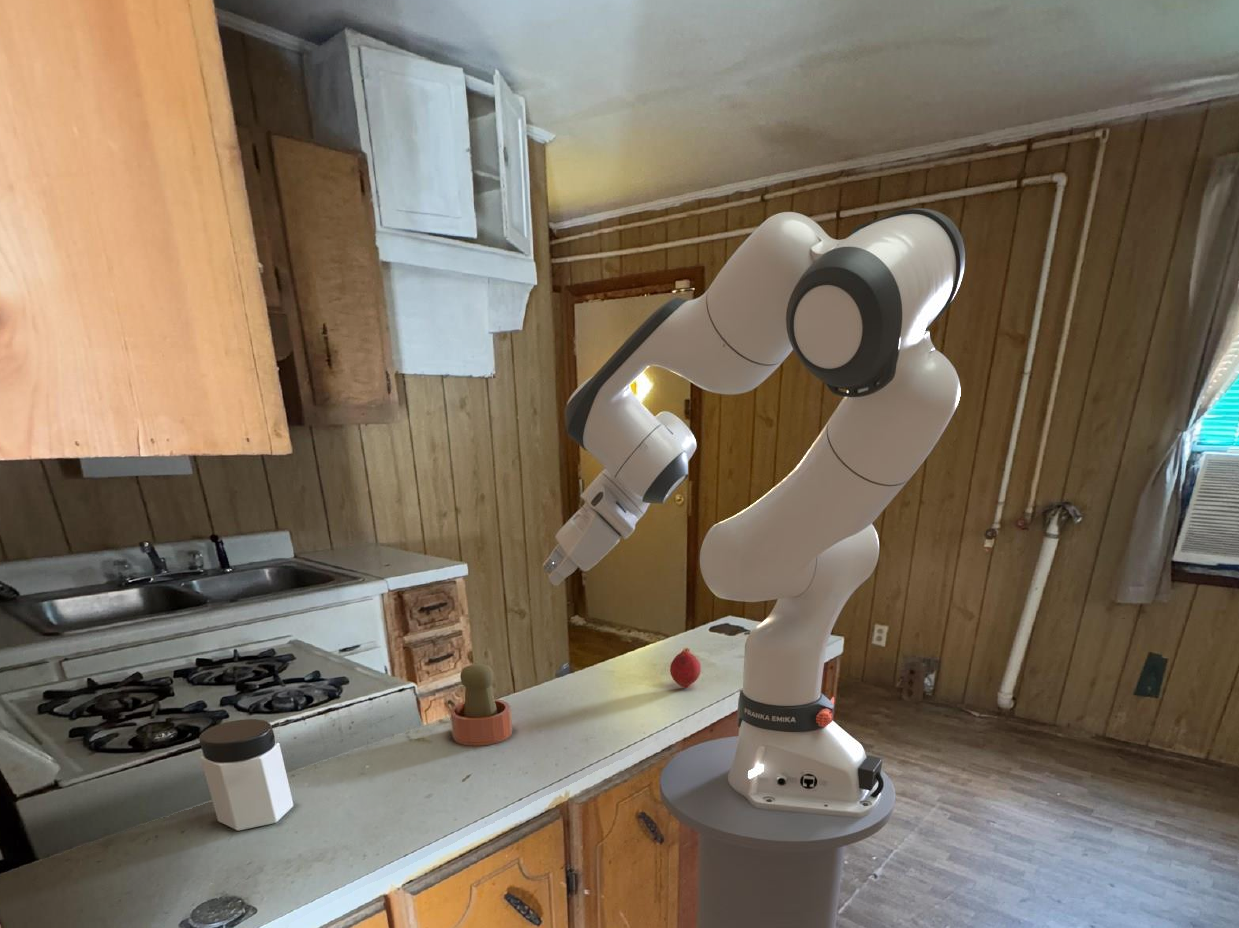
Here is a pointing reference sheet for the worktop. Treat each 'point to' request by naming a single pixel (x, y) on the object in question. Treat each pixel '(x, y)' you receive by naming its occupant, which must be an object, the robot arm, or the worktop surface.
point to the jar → (245, 773)
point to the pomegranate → (685, 668)
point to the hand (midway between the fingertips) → (548, 576)
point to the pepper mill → (478, 691)
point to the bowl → (481, 725)
